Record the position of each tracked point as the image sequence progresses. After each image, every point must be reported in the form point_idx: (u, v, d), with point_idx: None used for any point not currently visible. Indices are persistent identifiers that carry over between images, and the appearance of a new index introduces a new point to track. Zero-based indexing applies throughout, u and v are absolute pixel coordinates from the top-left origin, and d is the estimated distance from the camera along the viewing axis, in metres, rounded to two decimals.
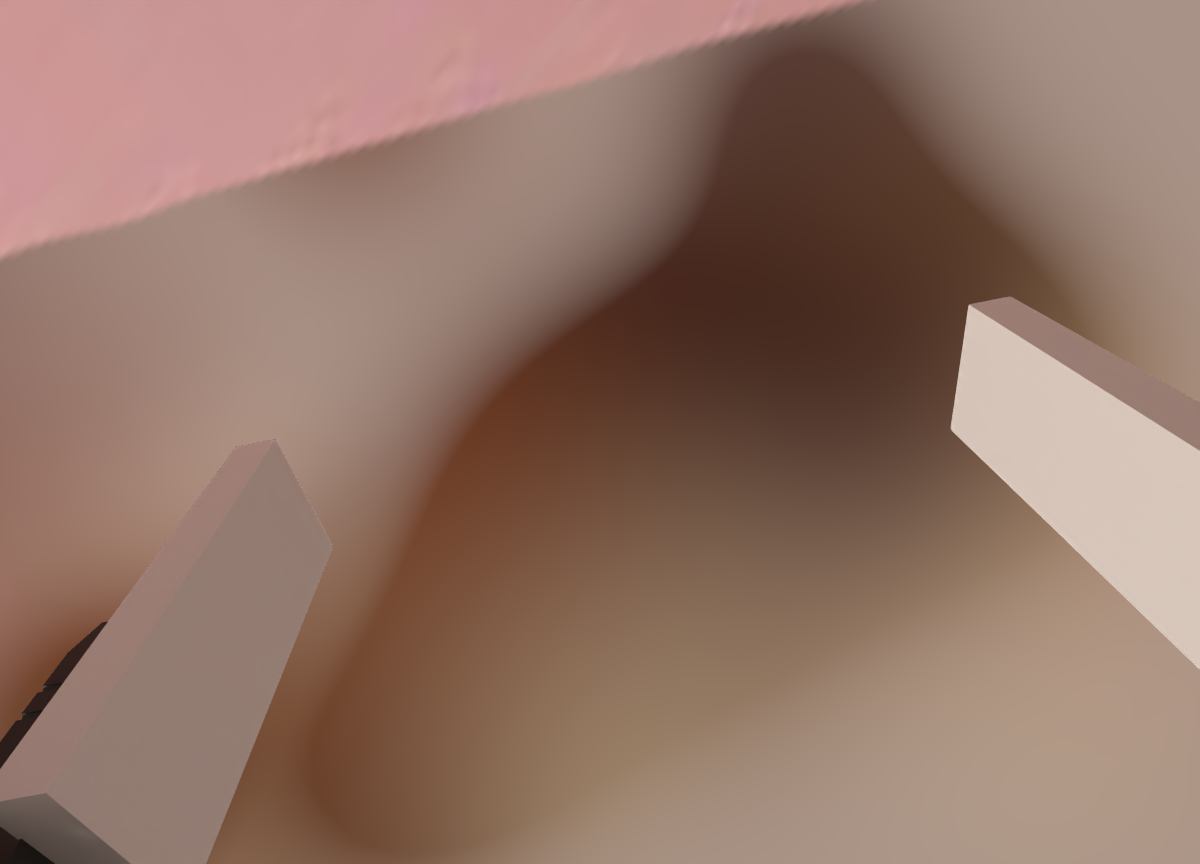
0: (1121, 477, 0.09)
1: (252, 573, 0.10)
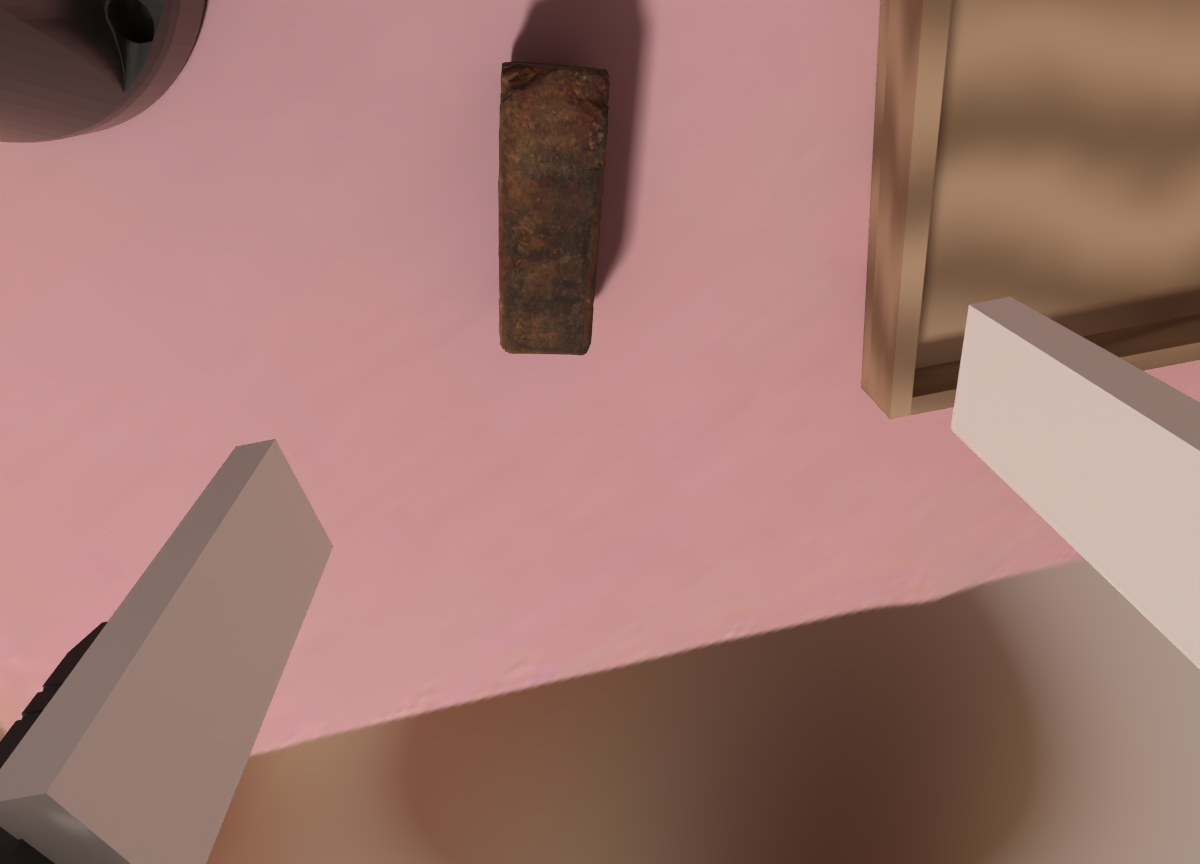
0: (1121, 477, 0.09)
1: (252, 573, 0.10)
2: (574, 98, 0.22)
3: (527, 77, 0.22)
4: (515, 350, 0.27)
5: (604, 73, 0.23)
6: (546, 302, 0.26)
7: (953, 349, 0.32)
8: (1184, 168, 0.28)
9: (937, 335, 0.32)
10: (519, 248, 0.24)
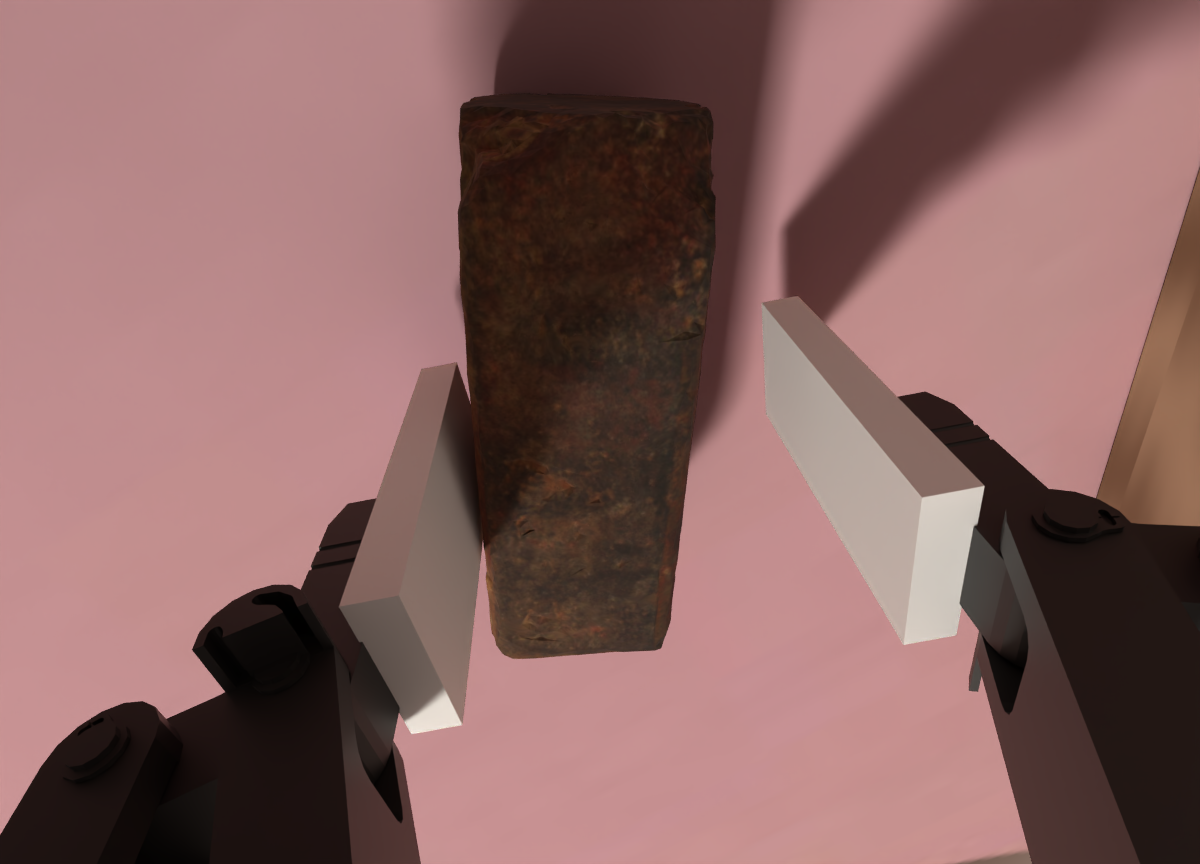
0: (835, 448, 0.10)
1: (459, 470, 0.12)
2: (637, 186, 0.09)
3: (520, 141, 0.09)
4: (523, 656, 0.14)
5: (704, 117, 0.09)
6: (581, 582, 0.12)
7: None
8: None
9: None
10: (521, 496, 0.11)
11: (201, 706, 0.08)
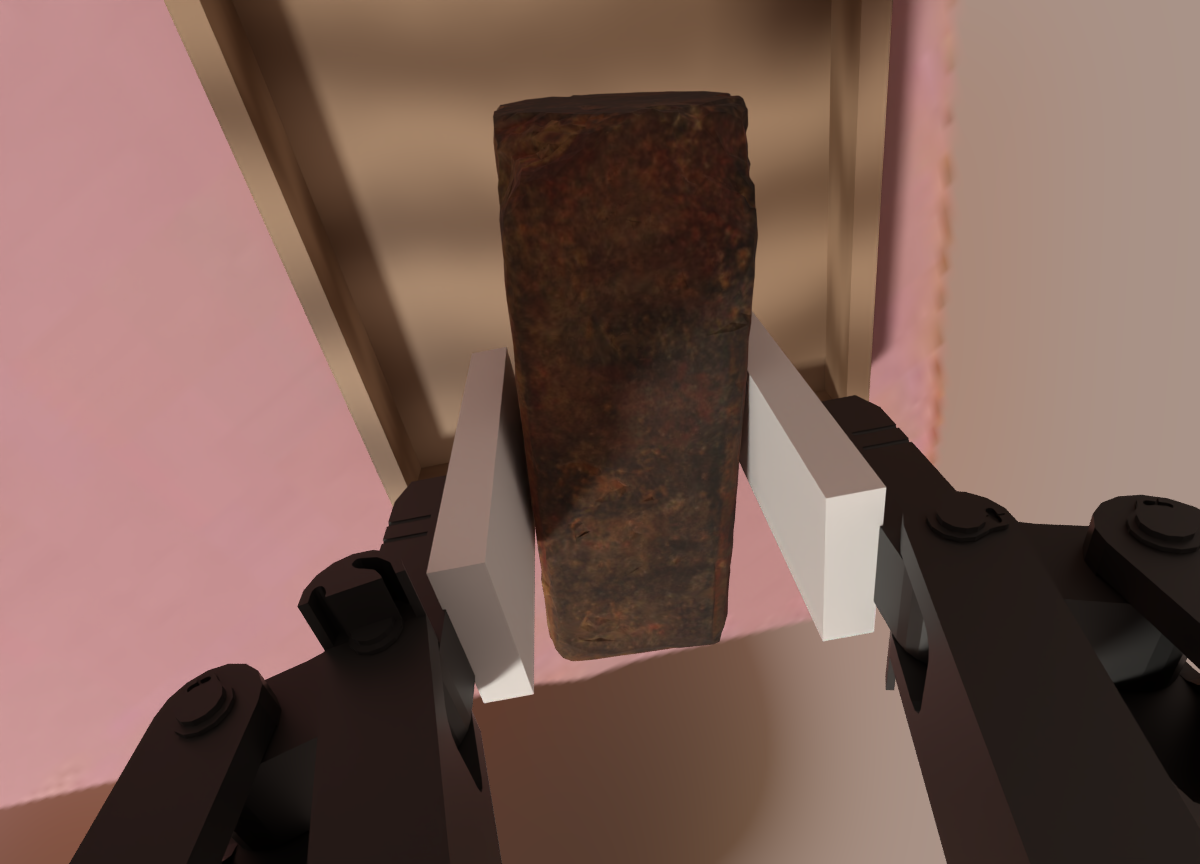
0: (766, 449, 0.11)
1: (515, 451, 0.12)
2: (678, 180, 0.09)
3: (557, 144, 0.09)
4: (583, 658, 0.14)
5: (739, 105, 0.09)
6: (637, 580, 0.12)
7: None
8: None
9: None
10: (575, 500, 0.11)
11: (294, 670, 0.08)
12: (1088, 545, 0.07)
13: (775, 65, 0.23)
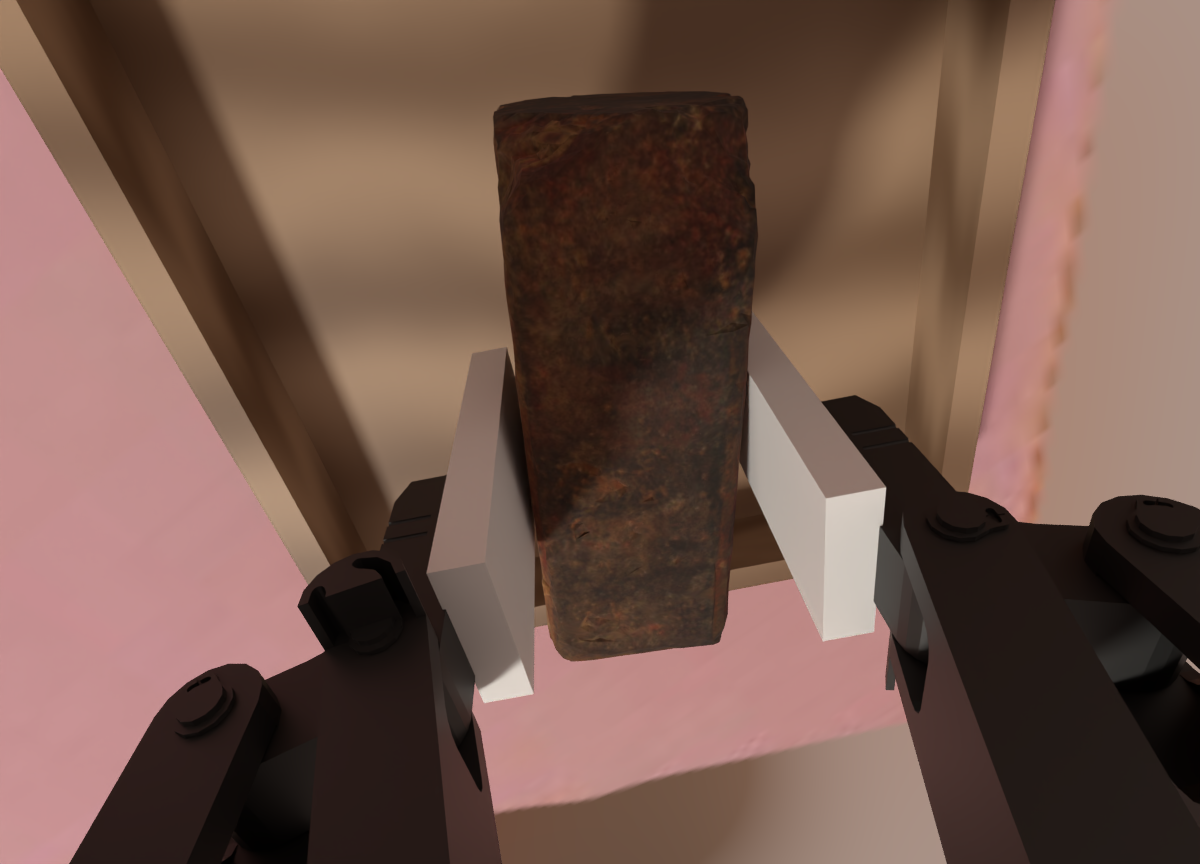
0: (766, 449, 0.11)
1: (515, 451, 0.12)
2: (678, 180, 0.09)
3: (557, 145, 0.09)
4: (583, 658, 0.14)
5: (739, 105, 0.09)
6: (637, 580, 0.12)
7: None
8: None
9: None
10: (575, 500, 0.11)
11: (294, 670, 0.08)
12: (1089, 546, 0.07)
13: (864, 79, 0.17)
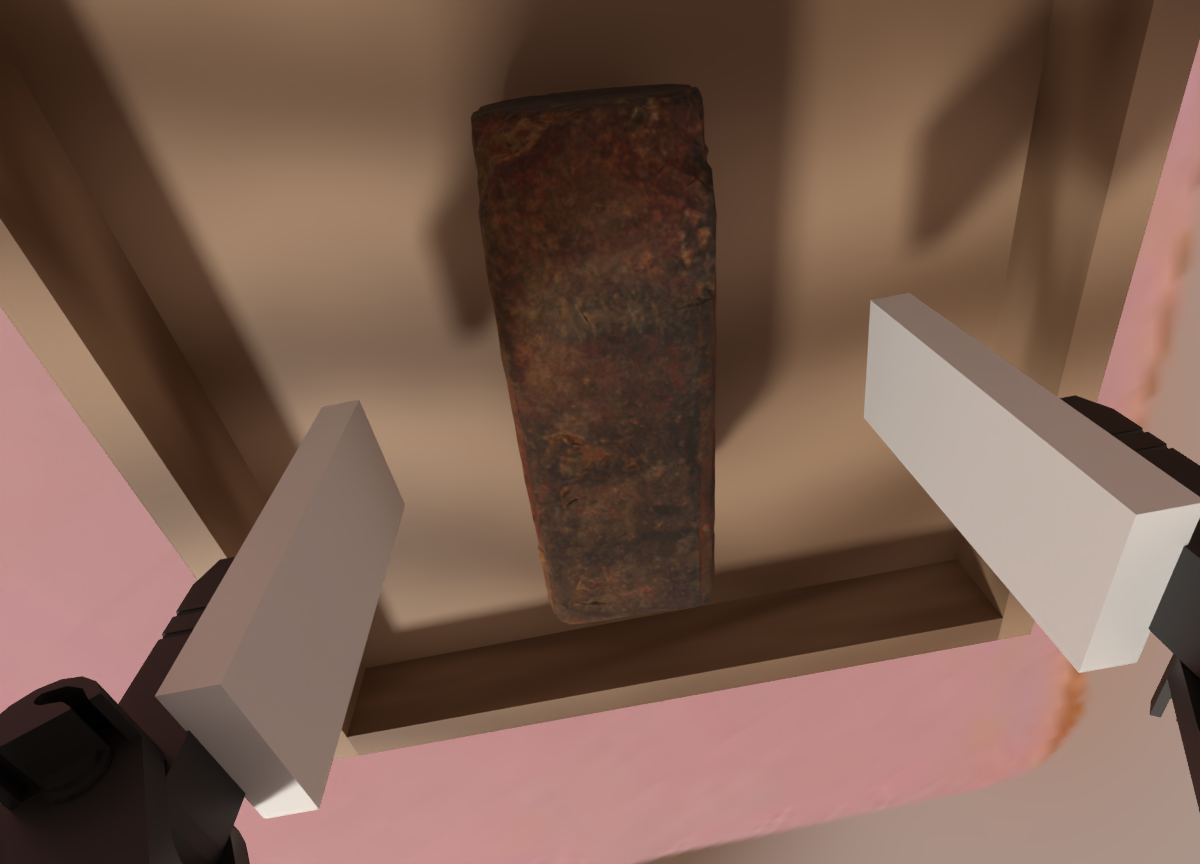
0: (981, 456, 0.10)
1: (349, 519, 0.11)
2: (638, 167, 0.10)
3: (527, 140, 0.10)
4: (580, 621, 0.15)
5: (694, 96, 0.10)
6: (626, 545, 0.13)
7: (455, 636, 0.21)
8: (724, 404, 0.17)
9: (417, 621, 0.21)
10: (562, 469, 0.12)
11: (1, 806, 0.07)
12: None
13: (944, 93, 0.14)
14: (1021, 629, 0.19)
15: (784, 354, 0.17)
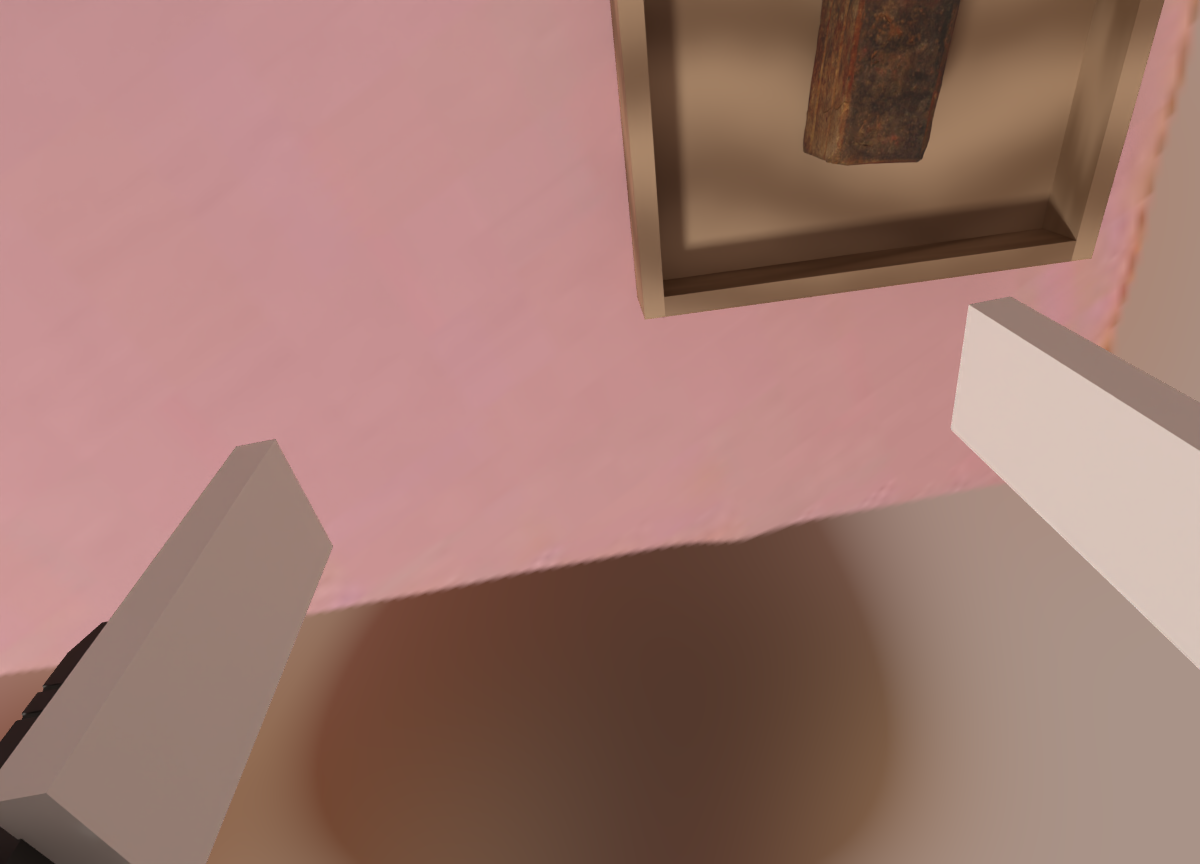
0: (1121, 477, 0.09)
1: (252, 573, 0.10)
2: None
3: None
4: (853, 159, 0.26)
5: None
6: (893, 99, 0.25)
7: (719, 258, 0.33)
8: None
9: (700, 241, 0.32)
10: (877, 38, 0.24)
11: None
12: None
13: None
14: (1086, 253, 0.31)
15: (964, 45, 0.28)
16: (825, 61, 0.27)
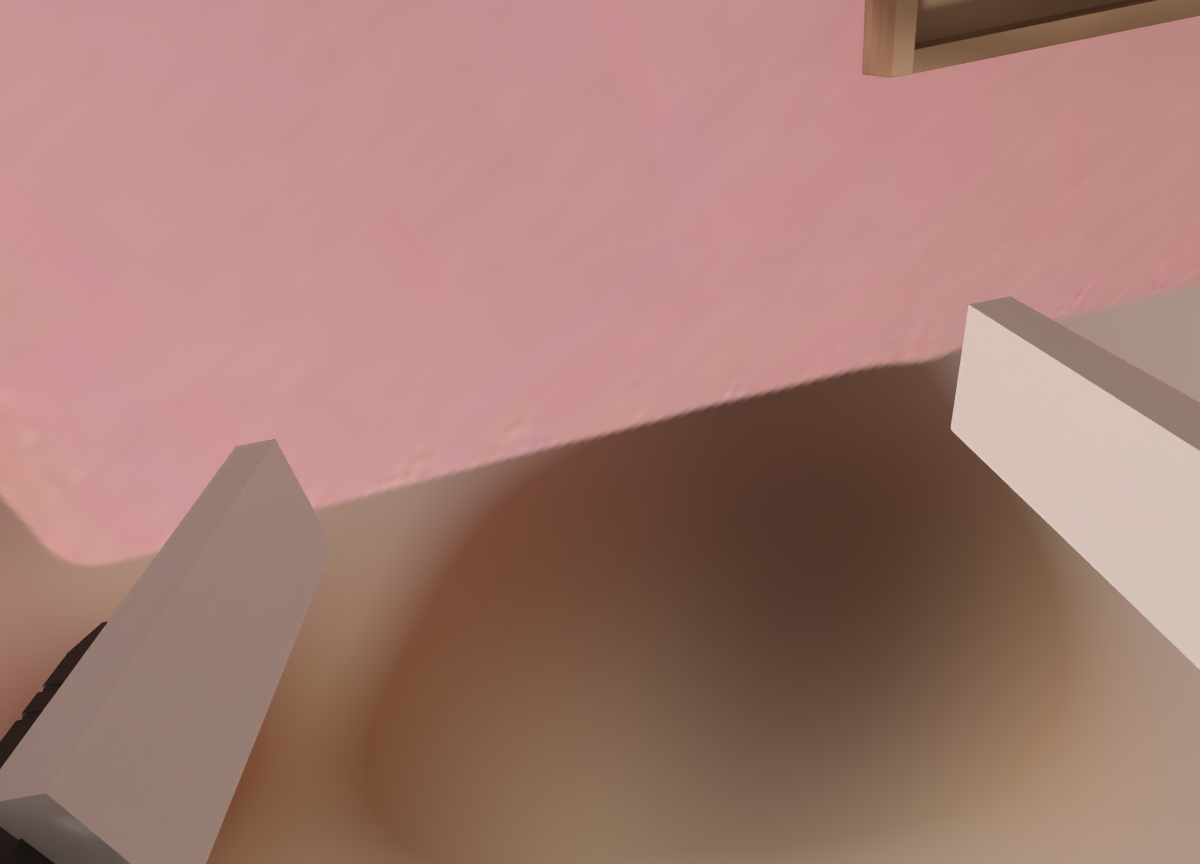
0: (1121, 477, 0.09)
1: (252, 573, 0.10)
2: None
3: None
4: None
5: None
6: None
7: (956, 19, 0.32)
8: None
9: None
10: None
11: None
12: None
13: None
14: None
15: None
16: None
